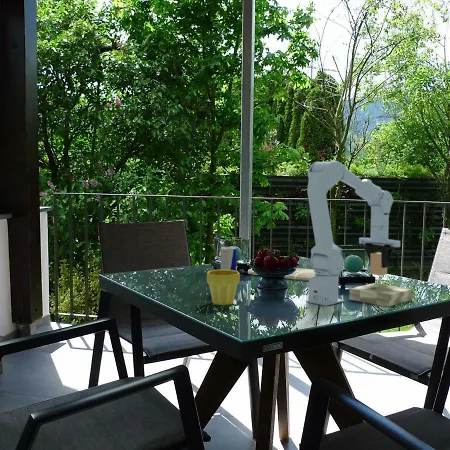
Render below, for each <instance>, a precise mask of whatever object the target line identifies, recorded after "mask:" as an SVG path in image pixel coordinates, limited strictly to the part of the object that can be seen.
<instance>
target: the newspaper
mask: <svg viewBox="0 0 450 450" xmlns="http://www.w3.org/2000/svg"><path fill="white" fill-rule="evenodd" d="M296 268H297V269H296V271H295V272H294V273H293V274H291V275H289V276H286V277H285V279H284V280H294V281H302V282H303V281H304V282H309V280H310V278H312V277H313V276H315V274H316V273H314V269H311V268H310V269H309V268H302V267H301V268H299V267H296ZM248 274H252V275H251V276H255V275H258V274H256V273H255V272H254V271H253V270H252V268H251V269H249V270H248Z"/></svg>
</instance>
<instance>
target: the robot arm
mask: <svg viewBox="0 0 450 450" xmlns="http://www.w3.org/2000/svg"><path fill="white" fill-rule="evenodd" d="M307 178H308V183H307V188H306V189H307V190H306V191H307V197H308V205H309V210H310V216H311V224H312V231H313V234H314V235H313V236H314V243H315V245H314V246H313V247H312V248H311V250H310V254H311V255H310V256H311V257H310V260H309V261H310V266H311V268H312V270H314V273H316V274H315V276H313V277H312V278H310V280H309V281H308V284H307V286H308V289H307V290H308V291H307V292H308V293H307V295H308V296H307V300H305V303H309V304H310V303H311V304H314V305H321V306H323V307H324V306H330V305H334V304H335V305H336V304H338V303H343V302H345V300H344V299H341V298H339V275H341V273H342V271H343V269H344V267H345V261H344V257H343V256H342V254H341V250H340V248H339V247H338V246H337V245H336V244H335V242H334V237H333V231H332V225H331V219H330V211H329V206H328V199H327V198H328V197H327V193H328V191H329V190H331V189H332V188H333V187H334V186H335V185H336V184H338V183H339V182H340V181H341V182H342V183H344V184H346V185H348V186H349V187H351V188H353V189H354V191H355V194H356V195H357V196H359V197H360V198H361V199H363V200H364V201H366V202H367V205H368V206H369V207H370V237H359V238H358V240H359V241H358V243H359V244H360V245H362V244H363V249H364V251H365V253H366V256H367V259H368V262H369V263H370V257H371V253H376V252H377V251H378V247H379V246H380V247H379V248H380V253H381V254H382V268H386V267H387V268H388V267H389V266H388V265H389V261H390V259H391V256H392V254H393V252H394V251H395V249H396V248H400V247H401V240H395V239H389V227H390V226H389V225H390V224H389V222H390V221H389V217H390V212H391V209H392V205H393V203H394V198H393V196H392V194H391V193H390V192H389V191H388V190H383V189H382V188H381V186H379V185H376V184H374V183H373V182H372V180H371V179H369V178H364V179H361V178H360V177H358V176H357V175H355V174H354V173H353V172H352V171H351V170H349V169H348V168H346V165H345V164H343V163H342V162H340V161H337V160H333V161H315V162H313V163H312V164H311V165H310V166H309V168H308V170H307Z"/></svg>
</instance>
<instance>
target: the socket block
mask: <svg viewBox="0 0 450 450" xmlns="http://www.w3.org/2000/svg"><path fill="white" fill-rule="evenodd" d="M348 295H349V299H348V300H350V301H356V302H361V303H366V304H371V305H377V306H381V307H382V306H383V307H387V308H388V307H391V306H392V307H393V306H395V305H400V304H403V303H407V302H409V301H412V300H413V289H412V288H407V287H406V288H405V287H400V286H393V285H389V284H381V283H368V284H364V285H360V286H356V287H352V288H349V294H348Z"/></svg>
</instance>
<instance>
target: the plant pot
mask: <svg viewBox="0 0 450 450" xmlns="http://www.w3.org/2000/svg"><path fill="white" fill-rule="evenodd" d="M240 276H241V274H240V273H239V272H238V271H234V270H221V269H212V270H208V271H207V272H206V283H207V284H208V286H209V290H210V291H209V292H210V296H211V301H212V304H214V305H218V306H229V305H233V304H234V302H235V297H236V293H237V287H238V285H239V284H240V279H241V277H240Z"/></svg>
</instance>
